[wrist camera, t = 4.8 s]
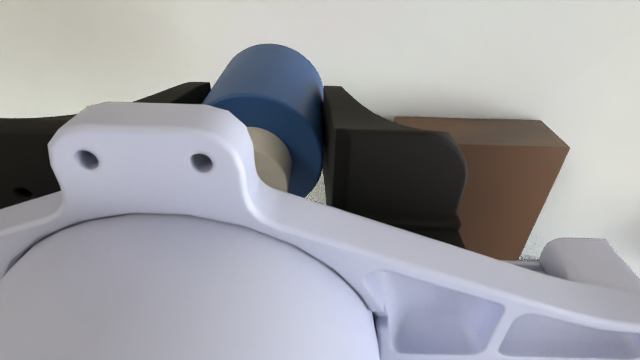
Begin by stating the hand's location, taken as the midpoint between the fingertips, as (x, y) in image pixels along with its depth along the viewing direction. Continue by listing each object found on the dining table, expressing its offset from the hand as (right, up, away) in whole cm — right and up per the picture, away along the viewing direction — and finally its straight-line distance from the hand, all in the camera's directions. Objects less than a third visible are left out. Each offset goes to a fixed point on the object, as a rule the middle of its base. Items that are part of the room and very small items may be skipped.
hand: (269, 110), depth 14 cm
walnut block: (+10, -2, +9) cm, 14 cm away
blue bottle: (0, +1, +1) cm, 1 cm away
